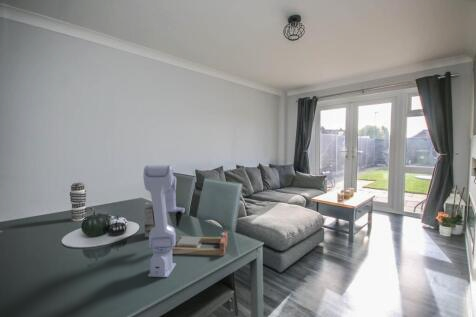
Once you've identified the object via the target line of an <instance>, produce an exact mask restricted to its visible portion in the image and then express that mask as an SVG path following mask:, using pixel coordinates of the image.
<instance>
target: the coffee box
mask: <svg viewBox="0 0 476 317" xmlns="http://www.w3.org/2000/svg"><path fill="white" fill-rule="evenodd" d="M154 227H155V220H154V212H153V204H152V205H150V206H148V207H145V208H144V237H145V238H149V234H150V231H151V229H152V228H154Z"/></svg>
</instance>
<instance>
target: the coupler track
mask: <svg viewBox="0 0 476 317" xmlns="http://www.w3.org/2000/svg"><path fill="white" fill-rule="evenodd" d="M228 234H229V232H228V230H224V231H223V234H222V237H221V236H219V237H218V236H201V237H202V243H203V244H219V248H209V247H208V248H207V247H200V248H185V247H177V246H174V247H172V255H173V254H174V255H198V256H219V257H224V256H225V253H226V250H227V246H228V242H229V240H228V239H229V236H228ZM183 236H184V237H192V236H187V235H183ZM183 236H182V235H181V236H179V240H180V239H181V238H182V237H183Z"/></svg>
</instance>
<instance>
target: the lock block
mask: <svg viewBox="0 0 476 317" xmlns="http://www.w3.org/2000/svg"><path fill="white" fill-rule="evenodd" d="M184 236H185V235H183V237H182V238H181V239H180V238H179V240H178V241H177V242H176V247H185V248H201V246H202V245H203V244H202V237H203V236H191V237H184Z"/></svg>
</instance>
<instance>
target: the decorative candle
mask: <svg viewBox="0 0 476 317" xmlns="http://www.w3.org/2000/svg"><path fill="white" fill-rule="evenodd" d="M86 192H87V190H86V188H85V183H84V182H75V183H72V184H71V185H70V192H69V197H70V198H69V199H70V204H71V210H70V211H71V212H70V213H71V215H70V217H71V221H72V220H73V221H72V222H78V221H79V222H80V221H83V219H84V218H85V217H87V207H86V200H87V198H86V197H87V193H86ZM84 220H85V219H84Z"/></svg>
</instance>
